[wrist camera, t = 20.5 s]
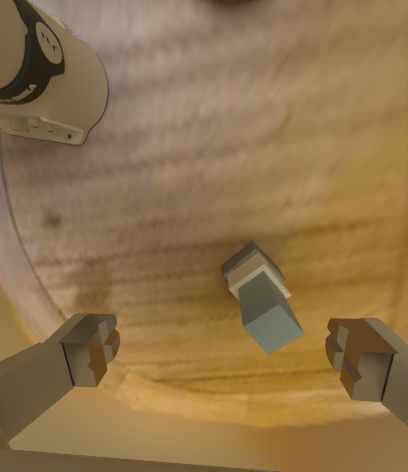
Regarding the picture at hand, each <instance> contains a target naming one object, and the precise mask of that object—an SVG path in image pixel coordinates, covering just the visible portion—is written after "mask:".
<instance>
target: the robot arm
mask: <svg viewBox="0 0 408 472" xmlns="http://www.w3.org/2000/svg"><path fill="white" fill-rule="evenodd" d="M107 97H108V85H107V79H106V75H105V71H104V69H103V66H102V64H101V62H100V60H99V59H98V57H97V56H96V54H95V53H94V52H93V51H92V49H91V48H90V47H88V46H87V45H86V44H85V43H83V42H82V41H80V40H79V39H77V38H76V37H75V36H73V35H72V34H71V32H70V31H69V29H68V28H67V27H66V25H65V24H64V23H63V22H62V21H61V20H60V19H58V18H57V17H56V16H53V15H51V16H48V15H47V14H46V13H45V12H43V11H42V10H41V9H39V8H38V7H37V6H35V5H34V4H33V3H32V2H30V1H29V0H0V128H1V129H2V130H3V131H4V132H5V133H8V134H11V135H16V136H22V137H28V138H35V139H41V140H47V141H54V142H60V143H66V144H73V145H82V144H83V143H84V141H85V139H86V137H87V134H88V131H89V130H90V128H91V127H92V126H93V125H94V124H95V123H96V122H97V121H98V120H99V119H100V117H101V116H102V114H103V112H104V110H105V107H106V103H107ZM70 135H71V139H70ZM116 325H117V320H116V316H114V315H113V314H92V313H90V314H88V313H77V314H74V315H73V316H72V317H71V318H70V319H69V320H67V321H66V322H65V323H64V324H63V325H62V326H61V327H60V328H59V329H58V330H57V331H55V332H54V333H53V334H52V335H51V336H50V337H49V338H48V339H47V340H46V341H45V342H43V343H38V344H35V345H33V346H31V347H29V348H27V349H25V350H23V351H21V352H19V353H17V354H15V355H13V356H11V357H9V358H7V359H4V360H2V361H0V472H278V471H266V470H254V469H241V468H229V467H218V466H205V465H192V464H181V463H169V462H157V461H145V460H132V459H120V458H108V457H96V456H84V455H71V454H59V453H47V452H35V451H23V450H11V448H10V445H9V443H8V442H9V441H10V440H11V439H12V438H14V437H15V436H16V435H17V434H19V433H20V432H21V431H22V430H23V429H25V428H26V427H27V426H28V425H29V424H30V423H32V422H33V421H34V420H35V419H37V418H38V417H39V416H40V415H41V414H43V413H44V412H45V411H46V410H47V409H49V408H50V407H51V406H52V405H54V404H55V403H56V402H57V401H58V400H60V399H61V398H62V397H63V396H64V395H66V394H67V393H68V392H69V391H70V390H72V389H73V387H97V386H98V384H99V383H100V381H101V379H102V378H103V376H104V374H105V373H106V371H107V364H108V363H109V362H110V361H112V360H113V359H114V358H115V356H116V354H117V352H118V349H119V345H120V336H119V332H118V331H117V330H116V329H115V326H116ZM327 328H328V330H329V331H330V332H331V334H330V335H329V336H328V337H327V338H326V343H325V348H326V354H327V357H328V360H329V362H330V364H331V365H332V367H333V368H334V369H335V370H337V371H338V372H340V373H341V375H340V381H341V383H342V384H343V386H344V388H345V389H346V391H347V393H348V394H349V396H350V398H351V399H352V400H360V401H372V402H382V404H383V405H384V406H385V407H386V408H387V409H389V410H390V411H391V412H392V413H393V414H394V415H396V416H397V417H398V418H399V419H400V420H402V421H403V422H404V423H405V424H406V425H408V344H407V343H405V342H404V341H403V340H402V339H401V338H400V337H399V336H398V335H396V334H395V333H394V332H393V331H392V330H391V329H390V328H389V327H388V326H386V325H385V324H384V323H383V322H382V321H381V320H379V319H377V318H360V319H341V318H330V320H329V322H328V327H327Z"/></svg>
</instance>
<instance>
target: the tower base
mask: <svg viewBox="0 0 408 472" xmlns="http://www.w3.org/2000/svg"><path fill="white" fill-rule="evenodd" d="M258 252H259V253H260V254H261V256H262V257H263V258H264V259H265V260H266V262H267V263H268V264H269V265H270V266H271V268H272V269H273V270H274V271H275V272H276V274H277V275H278V276H279V277H280V278H281V280H282V281H284V280H285V278H284V276H283V275H282V273H281V271H280V270H279V268H278V267H277V266H276V265H275V264H274V263H273V262H272V261H271V260H270V259H269V258H268V257H267V255H266V254H265V253H264V252H263V251H262V250H261V249H260V248H259V247H258V246H257V245H256V244H255V243H254V242H253V241H251V242H249V243H248V244H247V245H246V246H245V247H244V248H242V249H241V250H240V251H239V252H238V253H236V254H235V255H234V256H233V257H232V258H230V259H229V260H228V261H227V262H226V263H225V264H223V265H222V276H223V277H224V278H225V279H226V280H227V281H228V274H229V273H231V272H232V271H234V270H235V269H236V268H238V267H239V266H241V265H242V264H243V263H245V262H246V261H247V260H249V259H250V258H252V257H253V256H254V255H256V254H257V253H258Z"/></svg>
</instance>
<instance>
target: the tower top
mask: <svg viewBox="0 0 408 472" xmlns="http://www.w3.org/2000/svg"><path fill="white" fill-rule="evenodd" d="M262 271H265V273H266V274H267V275H268V276H269V277H270V279H271V280H272V281H273V282H274V283H275V284H276V286H277V287H278V288H279V289H280V290H281V291H282V293H283V294H284V296H285V298H286V299H287V298H289V297H290V296H291V295H290V293H289V291H288V289H287V288H286V286H285V284H284V283H283V281H282V280H281V278H280V277H279V276H278V275H277V274H276V272H275V271H274V270H273V269H272V268H271V266H270V265H269V264H268V263H267V262H266V260H265V259H264V258H263V257H262V256H261V254H260V253H259V252H258V253H257V254H256V255H254V256H253V257H252V258H250V259H249V260H247V261H246V262H245V263H243V264H242V265H241V266H239V267H238V268H236V269H235V270H234V271H232V272H231V273H229V274H228V289H229V290H230V291H231V292H232V294H233V295H234V296H235V297H236V298H237V299H238V300H239V293H238V288H239V287H241V286H242V285H244V284H245V283H246V282H248V281H249V280H251V279H252V278H254V277H255V276H256V275H258V274H259V273H261V272H262ZM239 301H240V300H239Z"/></svg>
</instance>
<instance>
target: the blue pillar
mask: <svg viewBox="0 0 408 472" xmlns="http://www.w3.org/2000/svg"><path fill="white" fill-rule="evenodd" d="M238 293H239V300H240V307H241V315H242V322H243V327H244V328H245V330H246V331H247V332H248V333H249V334H250V335H251V336H252V337H253V338H254V339H255V340H256V341H257V343H258V344H259V345H260V346H261V347H262V348H263V349H264V350H265V351H266V352H267V353H268V355H270V354H272V353H273V352H275V351H277V350H278V349H280V348H282V347H284V346H285V345H287V344H289V343H291V342H292V341H294V340H296V339H297V338H299V337H301V336H303V335H304V332H303V330H302V328H301V326H300V325H299V323H298V321H297V319H296V317H295V315H294V313H293V311H292V309H291V307H290V306H289V304H288V302H287V300H286V298H285V296H284V294H283V293H282V291H281V290H280V289H279V288H278V287H277V286H276V284H275V283H274V282H273V281H272V280H271V279H270V277H269V276H268V275H267V274H266V273H265V271H262V272H261V273H259V274H258V275H256V276H255V277H254V278H252V279H251V280H249V281H248V282H246V283H245V284H244V285H242V286H241V287H239V288H238Z"/></svg>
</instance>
